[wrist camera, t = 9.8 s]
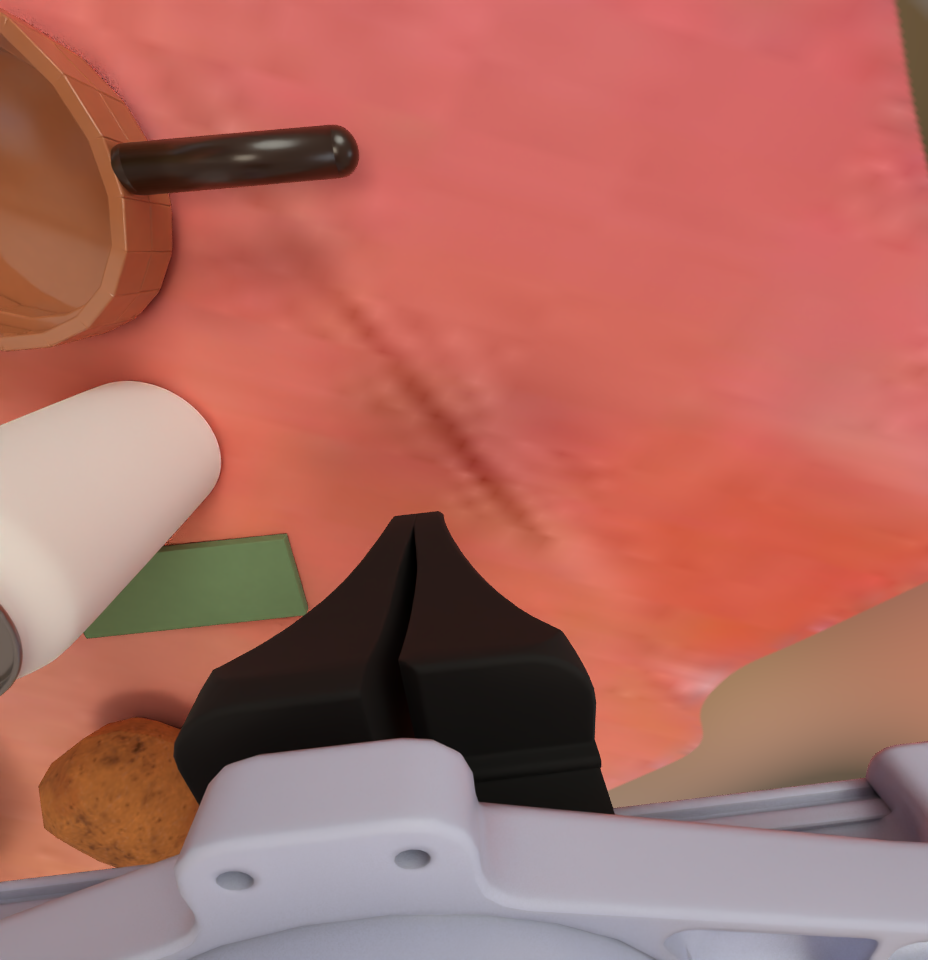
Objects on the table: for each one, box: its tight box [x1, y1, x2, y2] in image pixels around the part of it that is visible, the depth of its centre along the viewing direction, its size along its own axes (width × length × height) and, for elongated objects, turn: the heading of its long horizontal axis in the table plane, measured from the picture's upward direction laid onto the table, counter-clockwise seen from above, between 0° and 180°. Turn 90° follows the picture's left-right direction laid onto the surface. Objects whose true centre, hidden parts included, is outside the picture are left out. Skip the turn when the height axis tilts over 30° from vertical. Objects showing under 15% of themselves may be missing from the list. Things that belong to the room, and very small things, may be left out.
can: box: [0, 381, 221, 696], centre depth 17 cm, size 6×6×12 cm
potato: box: [39, 717, 199, 868], centre depth 28 cm, size 7×13×7 cm, turn 31°
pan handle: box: [111, 125, 359, 195], centre depth 15 cm, size 1×8×1 cm, turn 95°
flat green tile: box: [83, 534, 308, 639], centre depth 25 cm, size 5×12×1 cm, turn 95°
